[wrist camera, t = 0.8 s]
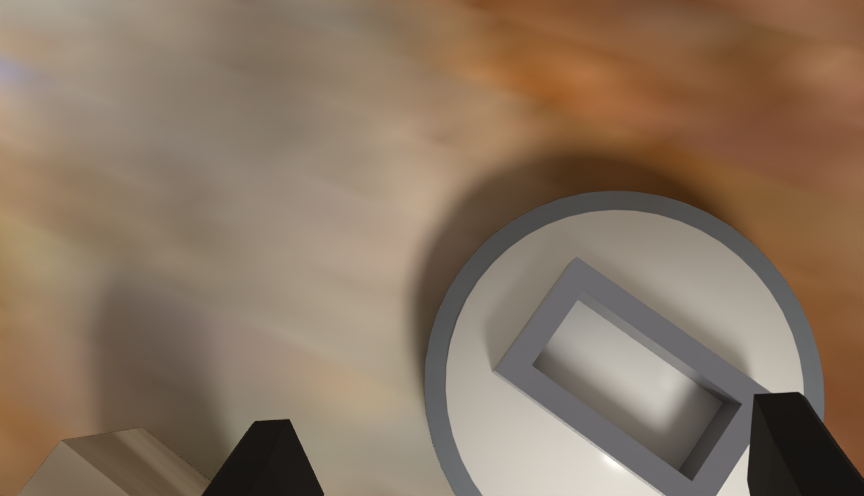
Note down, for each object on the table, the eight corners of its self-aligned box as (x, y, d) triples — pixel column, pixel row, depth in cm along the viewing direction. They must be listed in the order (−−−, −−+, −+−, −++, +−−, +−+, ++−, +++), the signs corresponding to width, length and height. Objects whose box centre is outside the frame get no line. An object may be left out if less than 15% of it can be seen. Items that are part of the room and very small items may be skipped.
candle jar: (660, 658, 26) (701, 709, 22) (352, 424, 27) (337, 432, 23) (859, 343, 28) (931, 337, 24) (560, 139, 29) (579, 100, 25)
